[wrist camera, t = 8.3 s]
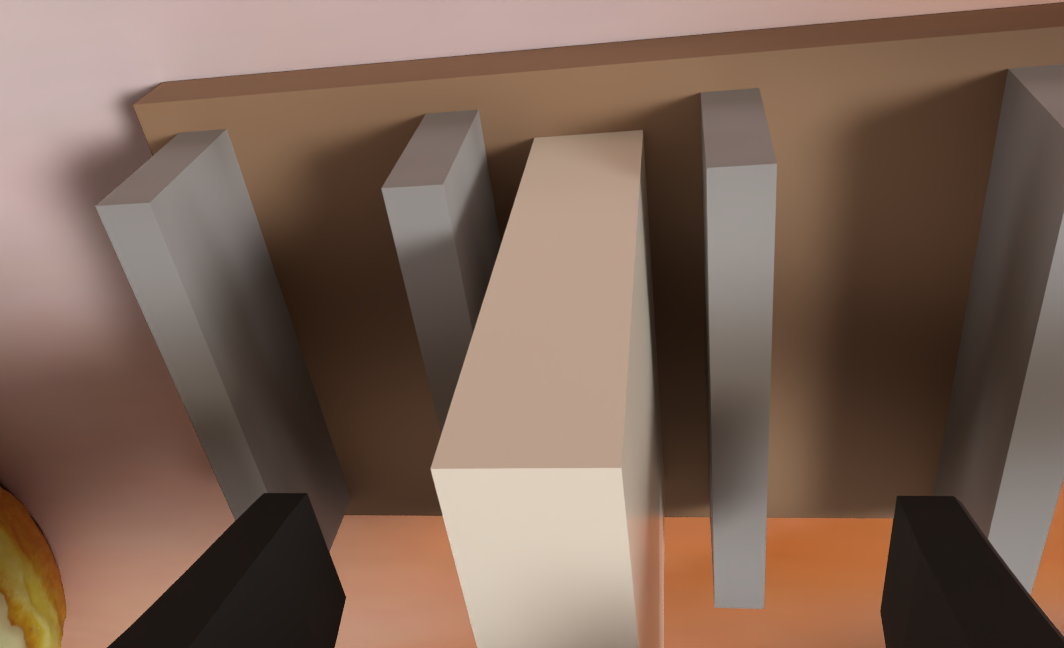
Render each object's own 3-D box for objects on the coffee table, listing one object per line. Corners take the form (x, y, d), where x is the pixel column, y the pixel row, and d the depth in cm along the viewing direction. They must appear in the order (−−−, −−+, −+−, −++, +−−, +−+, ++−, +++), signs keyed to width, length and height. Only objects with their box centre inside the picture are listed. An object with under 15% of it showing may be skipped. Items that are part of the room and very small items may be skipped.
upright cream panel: (664, 479, 17) (661, 879, 11) (580, 480, 17) (535, 869, 11) (643, 129, 13) (622, 467, 7) (534, 137, 13) (430, 469, 7)
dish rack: (994, 480, 17) (1060, 636, 14) (309, 480, 19) (247, 613, 17) (1102, -1, 12) (1237, 90, 9) (163, 82, 14) (38, 174, 12)
